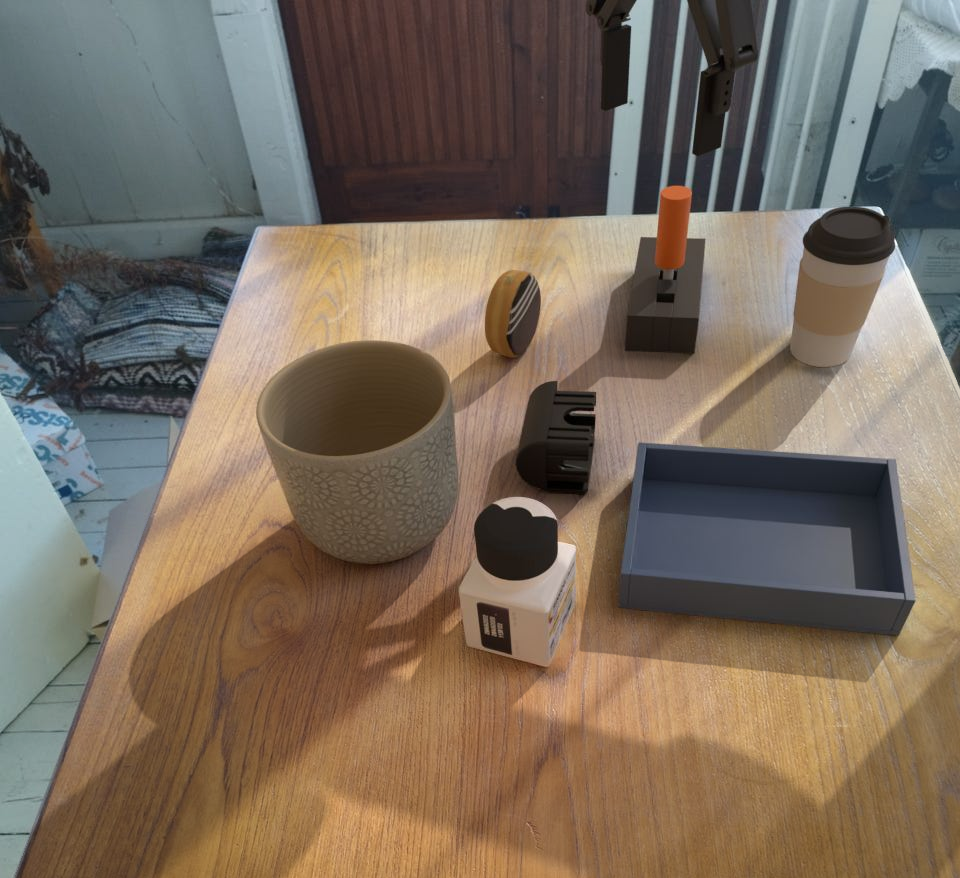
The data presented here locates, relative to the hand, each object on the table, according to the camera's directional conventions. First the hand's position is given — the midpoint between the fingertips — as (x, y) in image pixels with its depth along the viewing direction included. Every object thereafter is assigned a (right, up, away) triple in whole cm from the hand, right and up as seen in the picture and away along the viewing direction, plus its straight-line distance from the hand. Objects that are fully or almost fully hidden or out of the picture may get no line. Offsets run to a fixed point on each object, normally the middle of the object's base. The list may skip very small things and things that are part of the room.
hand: (658, 127), depth 82 cm
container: (-13, -47, -4) cm, 49 cm away
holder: (+6, -8, +25) cm, 27 cm away
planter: (-27, -37, +5) cm, 46 cm away
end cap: (-9, -30, +9) cm, 33 cm away
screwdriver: (+6, -8, +25) cm, 27 cm away
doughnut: (-13, -14, +22) cm, 29 cm away
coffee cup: (+22, -15, +18) cm, 32 cm away
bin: (+9, -40, -1) cm, 41 cm away
